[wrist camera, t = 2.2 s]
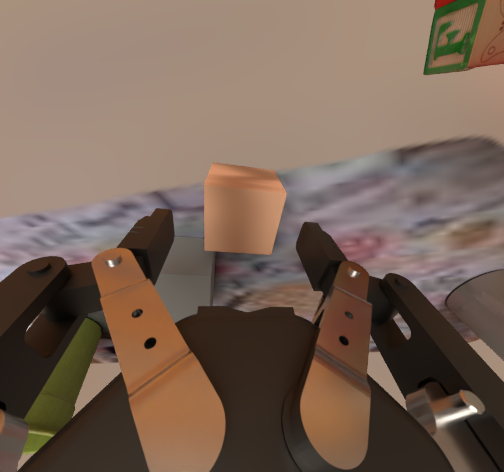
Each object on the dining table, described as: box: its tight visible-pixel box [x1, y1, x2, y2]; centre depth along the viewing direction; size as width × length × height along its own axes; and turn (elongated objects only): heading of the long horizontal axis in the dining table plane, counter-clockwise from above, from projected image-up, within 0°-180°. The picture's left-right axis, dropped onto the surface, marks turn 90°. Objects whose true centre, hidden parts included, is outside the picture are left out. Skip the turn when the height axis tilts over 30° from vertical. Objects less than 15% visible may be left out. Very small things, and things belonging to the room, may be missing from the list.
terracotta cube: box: [204, 163, 287, 255], centre depth 15 cm, size 5×5×5 cm
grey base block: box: [153, 236, 216, 323], centre depth 19 cm, size 8×8×5 cm
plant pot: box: [22, 318, 102, 455], centre depth 22 cm, size 12×12×11 cm
